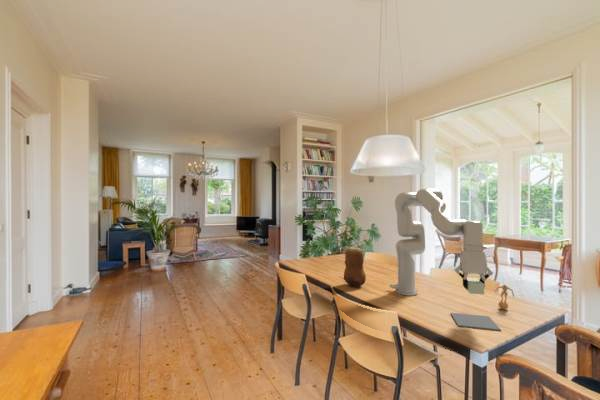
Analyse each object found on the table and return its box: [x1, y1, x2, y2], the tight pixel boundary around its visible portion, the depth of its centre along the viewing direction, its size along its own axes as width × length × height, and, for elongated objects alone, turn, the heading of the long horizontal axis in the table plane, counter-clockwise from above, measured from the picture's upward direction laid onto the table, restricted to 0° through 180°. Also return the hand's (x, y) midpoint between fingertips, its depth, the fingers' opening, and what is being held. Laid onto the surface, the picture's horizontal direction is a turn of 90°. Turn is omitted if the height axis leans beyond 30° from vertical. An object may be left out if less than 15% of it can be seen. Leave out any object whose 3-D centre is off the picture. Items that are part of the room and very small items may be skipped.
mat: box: [450, 312, 502, 332], centre depth 126 cm, size 16×14×1 cm
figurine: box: [494, 284, 515, 310], centre depth 141 cm, size 8×6×12 cm
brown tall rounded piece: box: [343, 246, 367, 288], centre depth 181 cm, size 14×13×25 cm
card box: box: [463, 277, 485, 295], centre depth 126 cm, size 9×6×4 cm, turn 164°
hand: (473, 287), depth 126 cm, fingers closed on card box, 5 cm apart
